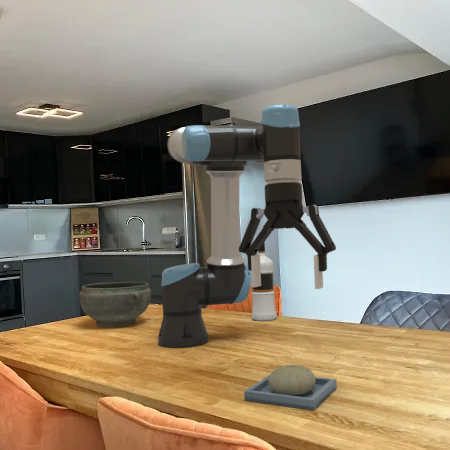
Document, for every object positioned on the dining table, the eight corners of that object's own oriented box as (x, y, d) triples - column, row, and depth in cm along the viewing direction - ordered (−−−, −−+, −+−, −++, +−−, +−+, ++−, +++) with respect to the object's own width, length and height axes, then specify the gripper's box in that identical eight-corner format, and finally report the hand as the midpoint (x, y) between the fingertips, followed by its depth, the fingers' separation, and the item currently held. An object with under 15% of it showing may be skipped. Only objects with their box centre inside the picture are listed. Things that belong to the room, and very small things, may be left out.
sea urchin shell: (260, 376, 104) (285, 347, 105) (287, 401, 105) (313, 372, 106) (268, 389, 95) (296, 357, 96) (298, 417, 96) (326, 385, 96)
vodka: (263, 322, 180) (259, 238, 181) (246, 319, 187) (243, 238, 188) (282, 318, 186) (278, 237, 186) (265, 316, 193) (262, 237, 194)
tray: (244, 400, 98) (244, 391, 98) (273, 380, 110) (273, 372, 110) (313, 410, 91) (313, 400, 91) (336, 387, 103) (336, 379, 103)
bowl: (170, 323, 185) (168, 282, 186) (106, 335, 168) (105, 290, 168) (124, 315, 209) (123, 279, 209) (64, 324, 192) (63, 285, 192)
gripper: (220, 186, 105) (224, 287, 105) (337, 176, 93) (342, 291, 93) (237, 188, 112) (241, 283, 112) (348, 179, 100) (353, 286, 100)
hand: (286, 287), depth 102 cm, fingers open, 13 cm apart
